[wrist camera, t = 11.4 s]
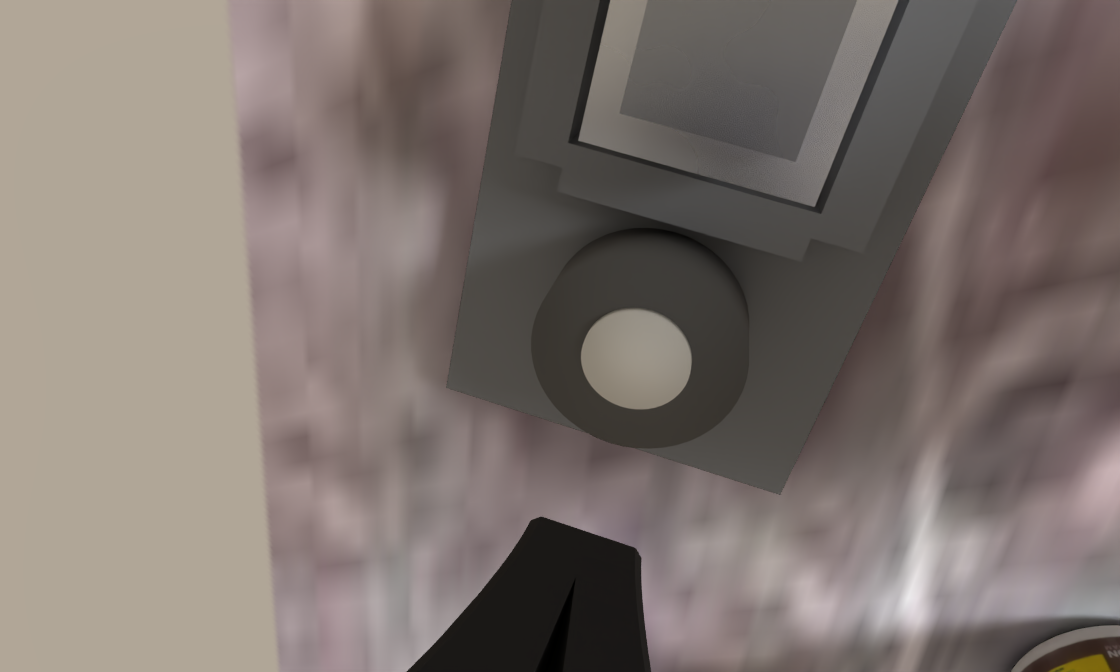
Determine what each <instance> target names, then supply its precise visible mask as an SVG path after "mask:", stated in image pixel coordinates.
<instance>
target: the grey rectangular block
mask: <svg viewBox="0 0 1120 672" xmlns="http://www.w3.org/2000/svg"><path fill="white" fill-rule="evenodd" d="M898 1H899V0H610V4H609V8H608V13H607V17H606V22H605V26H604V30H603V35H602V39H601V43H600V48H599V52H598V56H597V61H596V65H595V69H594V74H593V78H592V82H591V87H590V91H589V96H588V100H587V104H586V109H585V113H584V117H583V122H582V126H581V130H580V135H579V139H578V141H581V142H585V143H588V144H592V145H596V146H599V147H603V148H606V149H610V150H613V151H617V152H620V153H624V154H628V155H631V156H635V157H638V158H642V159H645V160H649V161H653V162H656V163H660V164H663V165H667V166H670V167H674V168H677V169H681V170H685V171H688V172H692V173H695V174H699V175H702V176H706V177H710V178H713V179H717V180H720V181H724V182H727V183H731V184H734V185H738V186H742V187H745V188H749V189H752V190H756V191H759V192H763V193H766V194H770V195H774V196H777V197H781V198H784V199H788V200H791V201H795V202H799V203H802V204H806V205H809V206H813V207H815V205H816V202H817V200H818V197H819V195H820V192H821V190H822V188H823V185H824V183H825V180H826V178H827V175H828V173H829V170H830V168H831V165H832V163H833V160H834V158H835V156H836V153H837V151H838V148H839V146H840V143H841V141H842V138H843V136H844V133H845V131H846V128H847V126H848V124H849V121H850V119H851V116H852V114H853V111H854V109H855V106H856V104H857V101H858V99H859V97H860V94H861V92H862V89H863V87H864V84H865V82H866V79H867V77H868V74H869V72H870V69H871V67H872V65H873V62H874V60H875V57H876V55H877V52H878V50H879V47H880V45H881V42H882V40H883V38H884V35H885V33H886V30H887V28H888V25H889V23H890V20H891V18H892V15H893V13H894V10H895V8H896V6H897V3H898Z"/></svg>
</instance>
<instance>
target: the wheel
mask: <svg viewBox="0 0 1120 672" xmlns="http://www.w3.org/2000/svg"><path fill="white" fill-rule="evenodd" d="M531 353H532V361H533V365H534V369H535V372H536V375H537V378H538V380H539V382H540V385H541V387H542V388H543V390H544V392H545V394H546V395H547V397H548V398H549V400H550V401H551V402H552V403H553V405H554V406H555V407H556V408H557V409H558V410H559V411H560V412H561V414H562V415H563V416H564V417H566V418H567V419H568V420H569V421H571V422H572V423H573V424H574V425H576V426H577V427H579V428H580V429H582V430H583V431H585V432H587V433H589V434H591V435H593V436H595V437H596V438H599V439H601V440H604V441H607V442H609V443H613V444H617V445H621V446H626V447H632V448H646V449H652V448H664V447H670V446H675V445H679V444H682V443H685V442H688V441H691V440H693V439H695V438H697V437H700V436H701V435H703V434H705V433H706V432H708V431H710V430H711V429H713V428H714V427H715V426H716V425H718V424H719V423H720V422H721V421H722V420H723V419H724V418H725V417H726V416H727V415H728V414H729V413H730V412H731V410H732V409H733V407H734V406H735V404H736V403H737V402H738V400H739V398H740V396H741V394H742V392H743V389H744V386H745V383H746V380H747V375H748V369H749V313H748V306H747V302H746V299H745V295H744V292H743V290H742V288H741V286H740V284H739V282H738V280H737V278H736V277H735V275H734V274H733V272H732V271H731V269H730V268H729V267H728V266H727V265H726V264H725V262H724V261H723V260H722V259H721V258H720V257H718V256H717V255H716V254H715V253H714V252H713V251H712V250H710V249H709V248H707V247H706V246H704V245H703V244H701V243H699V242H697V241H696V240H694V239H692V238H690V237H687V236H685V235H682V234H679V233H676V232H672V231H668V230H664V229H656V228H631V229H625V230H619V231H616V232H613V233H609V234H606V235H604V236H602V237H600V238H598V239H595V240H594V241H592V242H590V243H589V244H587V245H586V246H584V247H583V248H582V249H581V250H579V251H578V252H577V253H576V254H575V255H574V256H573V257H572V258H571V259H570V260H569V261H568V262H567V264H566V265H565V267H564V268H563V269H562V271H561V272H560V274H559V276H558V277H557V279H556V281H555V282H554V284H553V285H552V287H551V289H550V290H549V292H548V293H547V295H546V297H545V298H544V300H543V302H542V303H541V306H540V308H539V310H538V312H537V314H536V317H535V321H534V324H533V329H532V335H531Z"/></svg>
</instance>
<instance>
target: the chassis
mask: <svg viewBox="0 0 1120 672" xmlns="http://www.w3.org/2000/svg"><path fill="white" fill-rule="evenodd" d="M1016 2H1017V0H899V1H898V3H897V6H896V8H895V10H894V13H893V15H892V18H891V20H890V23H889V25H888V28H887V30H886V33H885V35H884V38H883V40H882V42H881V45H880V47H879V50H878V52H877V55H876V57H875V60H874V62H873V65H872V67H871V69H870V72H869V74H868V77H867V79H866V82H865V84H864V87H863V89H862V92H861V94H860V97H859V99H858V101H857V104H856V106H855V109H854V111H853V114H852V116H851V119H850V121H849V124H848V126H847V128H846V131H845V133H844V136H843V138H842V141H841V143H840V146H839V148H838V151H837V153H836V156H835V158H834V160H833V163H832V165H831V168H830V170H829V173H828V175H827V178H826V180H825V183H824V185H823V188H822V190H821V192H820V195H819V197H818V200H817V202H816V205H815V207H813V206H809V205H806V204H802V203H799V202H795V201H791V200H788V199H784V198H781V197H777V196H774V195H770V194H766V193H763V192H759V191H756V190H752V189H749V188H745V187H742V186H738V185H734V184H731V183H727V182H724V181H720V180H717V179H713V178H710V177H706V176H702V175H699V174H695V173H692V172H688V171H685V170H681V169H677V168H674V167H670V166H667V165H663V164H660V163H656V162H653V161H649V160H645V159H642V158H638V157H635V156H631V155H628V154H624V153H620V152H617V151H613V150H610V149H606V148H603V147H599V146H596V145H592V144H588V143H585V142H581V141H578V139H579V135H580V130H581V126H582V122H583V117H584V113H585V109H586V104H587V100H588V96H589V91H590V87H591V82H592V78H593V74H594V69H595V65H596V61H597V56H598V52H599V48H600V43H601V39H602V35H603V30H604V26H605V22H606V17H607V13H608V8H609V4H610V0H512V2H511V8H510V14H509V20H508V26H507V32H506V38H505V44H504V50H503V56H502V61H501V67H500V73H499V79H498V85H497V91H496V97H495V103H494V109H493V115H492V121H491V126H490V132H489V138H488V144H487V150H486V156H485V162H484V168H483V174H482V180H481V186H480V191H479V197H478V203H477V209H476V215H475V221H474V227H473V233H472V239H471V245H470V251H469V256H468V262H467V268H466V274H465V280H464V286H463V292H462V298H461V304H460V310H459V316H458V321H457V327H456V333H455V339H454V345H453V351H452V357H451V363H450V369H449V375H448V381H447V386H446V388H449V389H452V390H455V391H458V392H461V393H464V394H467V395H470V396H474V397H477V398H480V399H483V400H486V401H489V402H492V403H495V404H498V405H502V406H505V407H508V408H511V409H514V410H517V411H520V412H523V413H526V414H530V415H533V416H536V417H539V418H542V419H545V420H548V421H551V422H555V423H558V424H561V425H564V426H567V427H570V428H573V429H576V430H579V431H583V430H582V429H580V428H579V427H577V426H576V425H574V424H573V423H572V422H571V421H569V420H568V419H567V418H566V417H564V416H563V415H562V414H561V412H560V411H559V410H558V409H557V408H556V407H555V406H554V405H553V403H552V402H551V401H550V400H549V398H548V397H547V395H546V394H545V392H544V390H543V388H542V387H541V385H540V382H539V380H538V378H537V375H536V372H535V369H534V365H533V361H532V353H531V335H532V329H533V324H534V321H535V317H536V314H537V312H538V310H539V308H540V306H541V303H542V302H543V300H544V298H545V297H546V295H547V293H548V292H549V290H550V289H551V287H552V285H553V284H554V282H555V281H556V279H557V277H558V276H559V274H560V272H561V271H562V269H563V268H564V267H565V265H566V264H567V262H568V261H569V260H570V259H571V258H572V257H573V256H574V255H575V254H576V253H577V252H578V251H579V250H581V249H582V248H583V247H584V246H586V245H587V244H589V243H590V242H592V241H594V240H595V239H598V238H600V237H602V236H604V235H606V234H609V233H613V232H616V231H619V230H625V229H631V228H656V229H664V230H668V231H672V232H676V233H679V234H682V235H685V236H687V237H690V238H692V239H694V240H696V241H697V242H699V243H701V244H703V245H704V246H706V247H707V248H709V249H710V250H712V251H713V252H714V253H715V254H716V255H717V256H718V257H720V258H721V259H722V260H723V261H724V262H725V264H726V265H727V266H728V267H729V268H730V269H731V271H732V272H733V274H734V275H735V277H736V278H737V280H738V282H739V284H740V286H741V288H742V290H743V292H744V295H745V299H746V302H747V306H748V313H749V369H748V375H747V380H746V383H745V386H744V389H743V392H742V394H741V396H740V398H739V400H738V402H737V403H736V404H735V406H734V407H733V409H732V410H731V412H730V413H729V414H728V415H727V416H726V417H725V418H724V419H723V420H722V421H721V422H720V423H719V424H718V425H716V426H715V427H714V428H713V429H711V430H710V431H708V432H706V433H705V434H703V435H701V436H700V437H697V438H695V439H693V440H691V441H688V442H685V443H682V444H679V445H675V446H670V447H664V448H652V449H646V448H636V449H639V450H642V451H645V452H648V453H651V454H654V455H657V456H660V457H664V458H667V459H670V460H673V461H676V462H679V463H682V464H685V465H688V466H692V467H695V468H698V469H701V470H704V471H707V472H710V473H713V474H717V475H720V476H723V477H726V478H729V479H732V480H735V481H738V482H741V483H745V484H748V485H751V486H754V487H757V488H760V489H763V490H766V491H769V492H773V493H776V494H779V495H780V494H781V492H782V490H783V488H784V486H785V483H786V481H787V479H788V477H789V475H790V473H791V471H792V469H793V467H794V465H795V463H796V461H797V458H798V456H799V454H800V452H801V450H802V448H803V446H804V444H805V442H806V440H807V438H808V436H809V433H810V431H811V429H812V427H813V425H814V423H815V421H816V419H817V417H818V415H819V413H820V411H821V408H822V406H823V404H824V402H825V400H826V398H827V396H828V394H829V392H830V390H831V388H832V385H833V383H834V381H835V379H836V377H837V375H838V373H839V371H840V369H841V367H842V365H843V363H844V360H845V358H846V356H847V354H848V352H849V350H850V348H851V346H852V344H853V342H854V340H855V338H856V335H857V333H858V331H859V329H860V327H861V325H862V323H863V321H864V319H865V317H866V315H867V313H868V310H869V308H870V306H871V304H872V302H873V300H874V298H875V296H876V294H877V292H878V290H879V287H880V285H881V283H882V281H883V279H884V277H885V275H886V273H887V271H888V269H889V267H890V265H891V262H892V260H893V258H894V256H895V254H896V252H897V250H898V248H899V246H900V244H901V242H902V240H903V237H904V235H905V233H906V231H907V229H908V227H909V225H910V223H911V221H912V219H913V217H914V215H915V212H916V210H917V208H918V206H919V204H920V202H921V200H922V198H923V196H924V194H925V192H926V189H927V187H928V185H929V183H930V181H931V179H932V177H933V175H934V173H935V171H936V169H937V167H938V164H939V162H940V160H941V158H942V156H943V154H944V152H945V150H946V148H947V146H948V144H949V142H950V139H951V137H952V135H953V133H954V131H955V129H956V127H957V125H958V123H959V121H960V119H961V117H962V114H963V112H964V110H965V108H966V106H967V104H968V102H969V100H970V98H971V96H972V94H973V91H974V89H975V87H976V85H977V83H978V81H979V79H980V77H981V75H982V73H983V71H984V69H985V66H986V64H987V62H988V60H989V58H990V56H991V54H992V52H993V50H994V48H995V46H996V44H997V41H998V39H999V37H1000V35H1001V33H1002V31H1003V29H1004V27H1005V25H1006V23H1007V21H1008V19H1009V16H1010V14H1011V12H1012V10H1013V8H1014V6H1015V4H1016ZM583 432H585V431H583ZM586 433H587V432H586Z"/></svg>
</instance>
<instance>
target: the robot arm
mask: <svg viewBox="0 0 1120 672" xmlns="http://www.w3.org/2000/svg"><path fill="white" fill-rule="evenodd" d="M407 672H651V668H650V661H649V655H648V647H647V639H646V631H645V623H644V613H643V602H642V586H641V556H640V555H639V553H638V551H637V550H636V548H634V547H631V546H628V545H625V544H622V543H619V542H616V541H613V540H610V539H607V538H604V537H601V536H598V535H595V534H592V533H589V532H586V531H583V530H580V529H577V528H574V527H571V526H568V525H565V524H562V523H559V522H556V521H553V520H550V519H547V518H544V517H539V518H536V519H533V520H531V521H530V523H529V525H528V527H527V528H526V530H525V532H524V534H523V535H522V537H521V538H520V540H519V541H518V543H517V544H516V546H515V547H514V549H513V550H512V552H511V553H510V555H509V556H508V557H507V559H506V560H505V562H504V563H503V564H502V566H501V567H500V568H499V569H498V571H497V572H496V573H495V574H494V576H493V577H492V578H491V579H490V581H489V582H488V583H487V584H486V586H485V587H484V588H483V589H482V591H481V592H480V593H479V594H478V595H477V597H476V598H475V599H474V600H473V601H472V602H471V603H470V605H469V606H468V607H467V608H466V609H465V610H464V611H463V612H462V614H461V615H460V616H459V617H458V618H457V619H456V620H455V621H454V623H453V624H452V625H451V626H450V627H449V628H448V629H447V631H446V632H445V633H444V634H443V635H442V636H441V637H440V638H439V639H438V640H437V641H436V643H435V644H434V645H433V646H432V647H431V648H430V649H429V650H428V651H427V652H426V653H425V654H424V655H423V656H422V657H421V658H420V659H419V660H418V661H417V662H416V663H415V664H414V665H413V666H412V667H411V668H410V669H409V670H408V671H407Z"/></svg>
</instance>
